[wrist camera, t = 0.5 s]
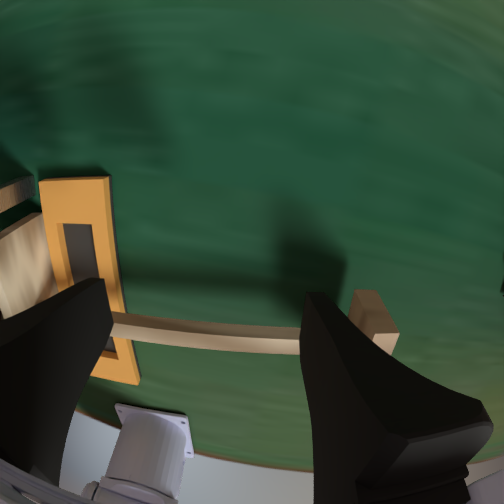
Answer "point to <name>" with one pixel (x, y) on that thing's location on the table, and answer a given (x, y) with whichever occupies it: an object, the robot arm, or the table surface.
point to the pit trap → (89, 255)
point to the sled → (157, 328)
